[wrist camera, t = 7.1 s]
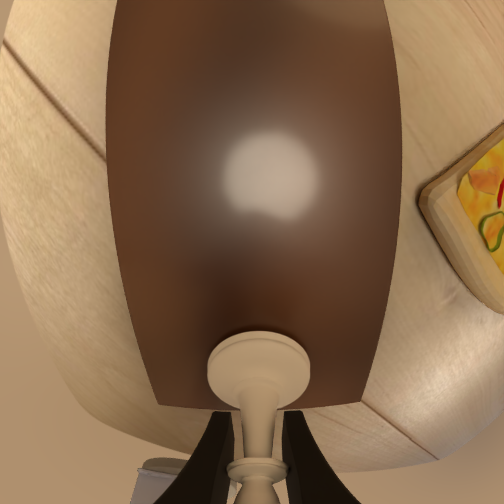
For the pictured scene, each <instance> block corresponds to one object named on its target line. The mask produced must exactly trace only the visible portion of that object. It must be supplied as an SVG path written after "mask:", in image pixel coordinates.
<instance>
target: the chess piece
mask: <svg viewBox="0 0 504 504" xmlns="http://www.w3.org/2000/svg"><path fill="white" fill-rule="evenodd" d="M207 368H208V373H207V377H208V382H209V385H210V387H211V389H212V391H213V392H214V393H215V394H216V395H217V396H218V397H219V398H220V399H221V400H222V401H224V402H225V403H227V404H229V405H231V406H233V407H236V408H239V409H240V412H241V422H242V432H243V447H244V458H242V459H238V460H235V461H232V462H231V463H229V464H228V465H227V467H226V470H227V472H228V476H229V478H230V479H232V480H233V481H235V482H238V483H241V484H242V487H241V489H240V491H239V492H238V494H237V496H236V499H235V501H234V504H280V502H279V498H278V496H277V494H276V492H275V490H274V488H273V486H272V485H273V484H274V483H277V482H280V481H282V480H283V479H285V478H286V476H287V473H288V471H289V467H288V465H287V464H286V463H284V462H283V461H280V460H277V459H273V458H271V456H272V447H273V437H274V428H275V420H276V412H277V409H278V408H282V407H284V406H286V405H288V404H290V403H292V402H294V401H295V400H296V399H298V398H299V397H300V396H301V395H302V394H303V392H304V391H305V390H306V388H307V386H308V383H309V380H310V361H309V358H308V355H307V353H306V352H305V350H304V349H303V348H302V347H301V346H300V345H299V344H298V343H297V342H295V341H294V340H292V339H291V338H289V337H286V336H284V335H281V334H278V333H274V332H268V331H250V332H244V333H240V334H237V335H234V336H231V337H229V338H227V339H226V340H224V341H222V342H221V343H220V344H219V345H218V346H217V347H216V348H215V349H214V350H213V351H212V353H211V355H210V357H209V360H208V366H207Z"/></svg>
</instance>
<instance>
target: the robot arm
mask: <svg viewBox="0 0 504 504" xmlns="http://www.w3.org/2000/svg"><path fill="white" fill-rule="evenodd" d="M234 440H235V438H234V431H233V424H232V417H231V412H220V411H215V412H213V413H212V416H211V418H210V421H209V423H208V426H207V428H206V430H205V432H204V434H203V436H202V438H201V440H200V442H199V443H198V445H197V447H196V449H195V450H194V452H193V454H192V456H191V457H190V459H189V460H188V462H187V463H186V465H185V466H184V468H183V469H182V470H181V472H180V473H179V475H174V474H168V473H162V472H157V471H152V470H147V469H142V468H138V470H137V471H138V472H139V475H138V478H137V482H136V485H135V488H134V492H133V495H132V498H131V502H130V504H226V503H227V497H228V491H229V485H230V478H229V476H228V472H227V470H226V467H227V465H228V464H229V463H231V462H232V461H234ZM282 459H283V462H284V463H286V464H287V465H288V467H289V471H288V473H287V476H286V478H285V479H286V485H287V491H288V498H289V504H361V503H360V502H359V501H358V500H357V499H356V498H355V497H354V496H353V495H352V494H351V493H350V491H349V490H348V489H347V488H346V487H345V486H344V484H343V483H342V482H341V481H340V479H339V478H338V477H337V475H336V474H335V473H334V471H333V470H332V468H331V467H330V465H329V464H328V462H327V461H326V459H325V458H324V456H323V454H322V452H321V451H320V449H319V447H318V446H317V444H316V442H315V440H314V438H313V436H312V434H311V432H310V430H309V427H308V425H307V423H306V420H305V418H304V415H303V412H302V411H300V410H298V411H284V419H283V430H282Z"/></svg>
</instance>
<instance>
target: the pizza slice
mask: <svg viewBox="0 0 504 504" xmlns="http://www.w3.org/2000/svg"><path fill="white" fill-rule="evenodd" d="M419 207H420V209H421V211H422V213H423V215H424V217H425V219H426V220H427V222H428V224H429V226H430V228H431V230H432V231H433V233H434V235H435V237H436V239H437V240H438V242H439V244H440V246H441V248H442V249H443V251H444V252H445V254H446V256H447V257H448V259H449V261H450V263H451V264H452V266H453V268H454V269H455V271H456V272H457V274H458V275H459V276H460V278H461V279H462V281H463V282H464V283H465V285H466V286H467V287H468V288H469V289H470V291H471V292H472V293H473V294H474V295H475V296H476V297H477V298H478V299H479V300H480V301H481V302H483V303H484V304H485V305H486V306H487V307H488V308H490V309H492V310H493V311H495V312H497V313H500V314H502V315H504V124H503V125H501V126H500V127H499V128H498V129H497V130H496V131H495V132H493V133H492V134H491V135H490V136H489V137H488V138H487V139H485V140H484V141H483V142H482V143H481V144H479V145H478V146H477V147H476V148H475V149H474V150H472V151H471V152H470V153H469V154H468V155H466V156H465V157H464V158H463V159H462V160H460V161H459V162H458V163H457V164H455V165H454V166H453V167H452V168H450V169H449V170H448V171H447V172H445V173H444V174H443V175H442V176H440V177H439V178H437V179H436V180H434V181H433V182H431V183H429V184H428V185H427V186H426V187H425V188H424V189H423V190H422V192H421V195H420V198H419Z"/></svg>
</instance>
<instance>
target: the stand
mask: <svg viewBox="0 0 504 504" xmlns="http://www.w3.org/2000/svg"><path fill="white" fill-rule="evenodd" d="M106 158H107V175H108V187H109V198H110V207H111V216H112V224H113V231H114V238H115V244H116V250H117V256H118V262H119V267H120V272H121V277H122V282H123V287H124V291H125V296H126V300H127V304H128V309H129V313H130V317H131V321H132V324H133V328H134V332H135V335H136V339H137V342H138V346H139V349H140V352H141V356H142V359H143V362H144V365H145V368H146V371H147V374H148V377H149V380H150V383H151V386H152V389H153V392H154V394H155V397H156V400H157V402H158V404H159V405H167V406H175V407H185V408H197V409H212V410H240V409H239V408H236V407H233V406H231V405H229V404H227V403H225V402H224V401H222V400H221V399H220V398H219V397H218V396H217V395H216V394H215V393H214V392H213V391H212V389H211V387H210V385H209V382H208V377H207V373H208V368H207V366H208V360H209V357H210V355H211V353H212V351H213V350H214V349H215V348H216V347H217V346H218V345H219V344H220V343H221V342H222V341H224V340H226V339H227V338H229V337H231V336H234V335H237V334H240V333H244V332H250V331H268V332H274V333H278V334H281V335H284V336H286V337H289V338H291V339H292V340H294V341H295V342H297V343H298V344H299V345H300V346H301V347H302V348H303V349H304V350H305V352H306V353H307V355H308V358H309V361H310V380H309V383H308V386H307V388H306V390H305V391H304V392H303V394H302V395H301V396H300V397H299V398H298V399H296V400H295V401H294V402H292V403H290V404H288V405H286V406H284V407H282V408H278V409H277V410H288V409H303V408H315V407H325V406H333V405H341V404H349V403H355V402H360V401H361V398H362V395H363V392H364V389H365V386H366V383H367V380H368V377H369V373H370V370H371V367H372V363H373V360H374V356H375V352H376V349H377V345H378V341H379V337H380V333H381V329H382V325H383V320H384V316H385V311H386V306H387V301H388V296H389V291H390V285H391V279H392V273H393V267H394V260H395V253H396V245H397V236H398V227H399V216H400V202H401V183H402V126H401V108H400V95H399V85H398V76H397V68H396V61H395V54H394V48H393V42H392V37H391V32H390V27H389V22H388V18H387V13H386V9H385V5H384V1H383V0H117V5H116V10H115V15H114V21H113V27H112V34H111V42H110V50H109V60H108V72H107V87H106Z"/></svg>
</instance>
